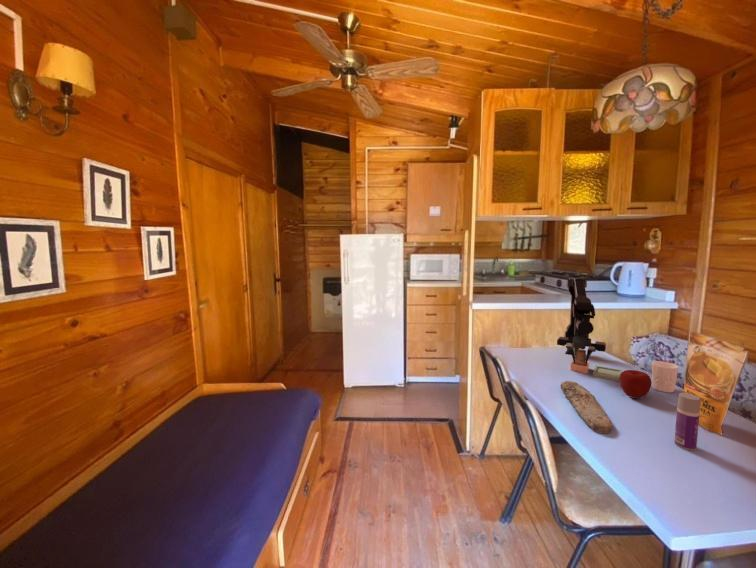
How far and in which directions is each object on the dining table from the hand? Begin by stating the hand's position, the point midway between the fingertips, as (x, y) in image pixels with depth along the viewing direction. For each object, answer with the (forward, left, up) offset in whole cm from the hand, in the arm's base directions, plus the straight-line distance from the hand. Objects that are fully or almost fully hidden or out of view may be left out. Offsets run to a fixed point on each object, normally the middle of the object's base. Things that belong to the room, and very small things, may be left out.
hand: (580, 361), depth 153 cm
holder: (0, 0, -4) cm, 4 cm away
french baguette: (+38, +6, -5) cm, 39 cm away
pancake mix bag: (+28, +38, -4) cm, 47 cm away
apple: (+18, +20, -4) cm, 27 cm away
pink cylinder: (+4, +29, -4) cm, 30 cm away
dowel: (0, 0, -4) cm, 4 cm away
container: (+48, +32, -4) cm, 58 cm away
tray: (0, +11, -4) cm, 11 cm away
